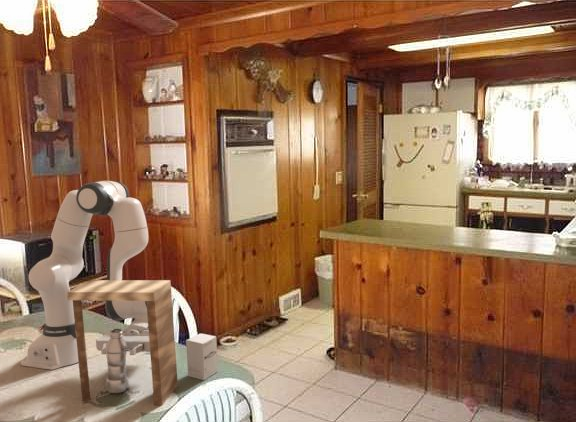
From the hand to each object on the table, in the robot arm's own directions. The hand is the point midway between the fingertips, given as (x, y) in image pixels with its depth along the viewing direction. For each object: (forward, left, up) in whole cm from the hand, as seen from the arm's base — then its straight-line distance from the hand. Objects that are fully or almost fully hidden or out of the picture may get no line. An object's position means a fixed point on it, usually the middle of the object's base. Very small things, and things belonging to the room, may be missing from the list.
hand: (117, 352), depth 158 cm
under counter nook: (+2, 0, -13) cm, 14 cm away
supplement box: (+22, +15, -14) cm, 30 cm away
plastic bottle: (-2, +1, -13) cm, 14 cm away
